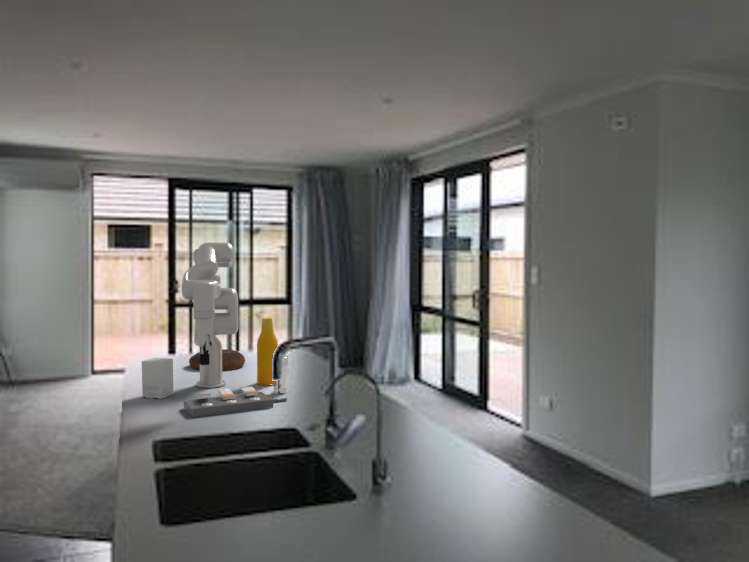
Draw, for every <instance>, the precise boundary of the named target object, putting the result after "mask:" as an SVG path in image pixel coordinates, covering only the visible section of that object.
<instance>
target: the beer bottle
mask: <svg viewBox="0 0 749 562" xmlns="http://www.w3.org/2000/svg"><path fill="white" fill-rule="evenodd" d="M260 331H261V332H260V333H259V336H258V339H257V344H256V374H257V375H256V383H257V385H259V384H260V385H259V386H271V385H270V384H274V381H272V359H273V353H274V351H275V349H276V348H277V347H278V348H279V343H278V341H279V340H278V338H277V336H276V334H275V331H274V322H273V318H272V317H263V318H262V320H261V330H260Z"/></svg>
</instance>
